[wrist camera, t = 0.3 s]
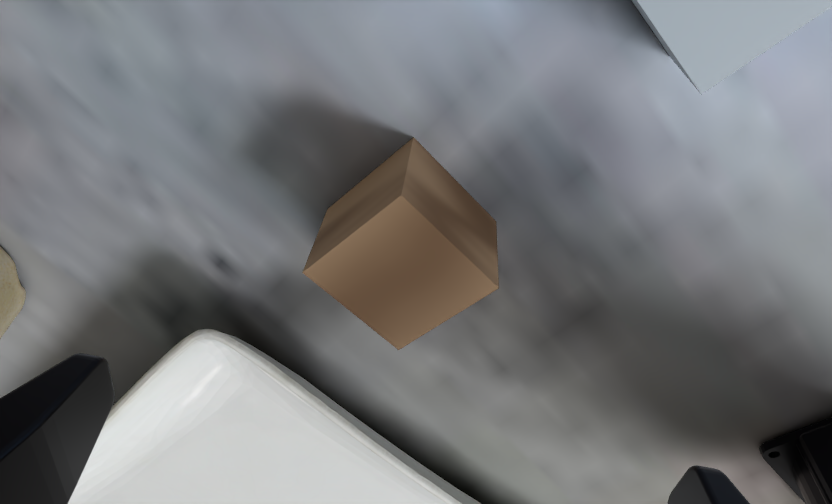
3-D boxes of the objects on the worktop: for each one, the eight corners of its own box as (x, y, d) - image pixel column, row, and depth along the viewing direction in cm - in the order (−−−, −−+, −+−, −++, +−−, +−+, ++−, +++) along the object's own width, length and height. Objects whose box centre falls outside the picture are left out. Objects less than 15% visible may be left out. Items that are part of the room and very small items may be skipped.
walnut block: (496, 219, 22) (498, 288, 19) (409, 279, 24) (398, 349, 21) (413, 135, 20) (401, 194, 17) (328, 207, 22) (302, 272, 19)
